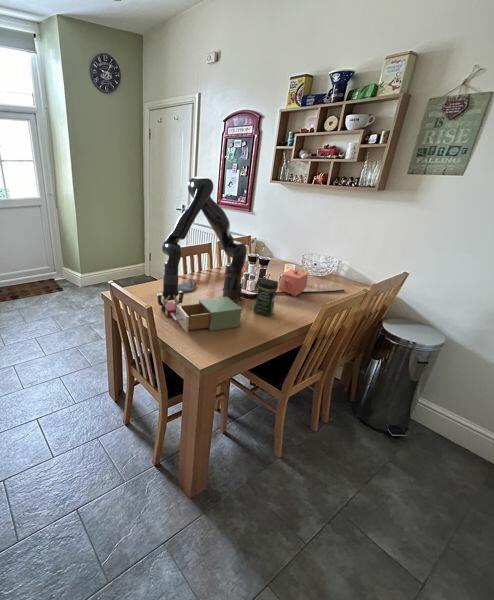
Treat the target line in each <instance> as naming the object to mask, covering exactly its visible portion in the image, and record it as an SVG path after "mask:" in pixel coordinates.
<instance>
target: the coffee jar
mask: <svg viewBox="0 0 494 600" xmlns="http://www.w3.org/2000/svg"><path fill="white" fill-rule="evenodd" d="M278 290H279V282H278V280H273V279H270V278H265V277H261V278H260V279H259V280H258V283H257V294H258V295H256V299H255V303H254V306H253V311H254V312H255V313H256V314H260V315H262V316H265V317H267V316H271V315H272V314H273V313H274V308H275V300H276V299H275V298H276V294H275V293H276V292H278Z"/></svg>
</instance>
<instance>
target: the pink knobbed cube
mask: <svg viewBox="0 0 494 600" xmlns="http://www.w3.org/2000/svg"><path fill="white" fill-rule="evenodd" d="M307 284H308V273H307V272H305V271H303V270H298V269H289V270H286V271H284V272H283V273H282V274H281V277H280V279H279V282H278V291H279V292H287V293H286V294H290V295H291V296H292V297H297V296H298V295H299V294H302V293H301V292H305V290H306V289H307Z"/></svg>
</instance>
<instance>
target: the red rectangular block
mask: <svg viewBox="0 0 494 600" xmlns="http://www.w3.org/2000/svg"><path fill="white" fill-rule="evenodd" d="M163 313H164V314H165V316H166V317H167V318H173V317H172V316H171V313H176V306H175V302H174V301H167V303H166V304H165V312H163ZM175 316H176V315H175Z"/></svg>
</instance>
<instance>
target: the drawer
mask: <svg viewBox="0 0 494 600" xmlns="http://www.w3.org/2000/svg"><path fill="white" fill-rule="evenodd" d="M175 315H176V316H175ZM171 316H172V317H171V318H172V319H173V320H174V321H175V322H176V323H178V324H179V325H180V327H181V328H182V329H183V330H184V332H185V333H188V332H189V330H190V331H191V330H192V331H193V330H199V329H208V328H207V327H210V318H211V313H210V312H209V311H208V310H207V309H206V308H205V307H204V306H203V305H202V304H201V303H199V302H197V303H189V304H188V303H187V304H181V306H180V304H178V305H176V313H171Z"/></svg>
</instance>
